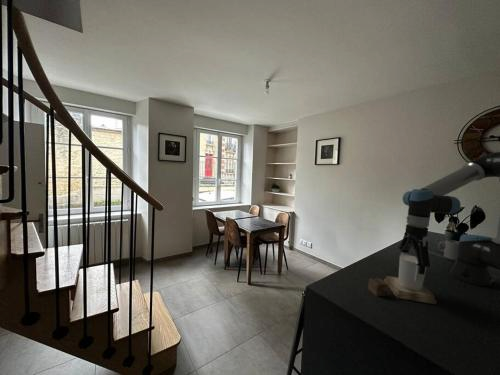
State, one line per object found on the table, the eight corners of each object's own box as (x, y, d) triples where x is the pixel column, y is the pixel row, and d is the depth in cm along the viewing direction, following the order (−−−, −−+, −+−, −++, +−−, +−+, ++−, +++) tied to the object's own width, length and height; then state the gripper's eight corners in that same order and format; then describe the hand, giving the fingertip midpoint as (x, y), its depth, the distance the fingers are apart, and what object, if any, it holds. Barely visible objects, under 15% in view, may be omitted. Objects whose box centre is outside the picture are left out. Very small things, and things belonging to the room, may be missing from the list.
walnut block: (378, 289, 97) (379, 278, 97) (386, 295, 92) (388, 284, 92) (367, 289, 96) (369, 278, 96) (375, 295, 91) (377, 284, 91)
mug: (461, 258, 143) (463, 242, 142) (461, 262, 137) (464, 245, 136) (437, 252, 151) (439, 237, 150) (436, 255, 145) (438, 239, 144)
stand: (417, 286, 102) (418, 280, 102) (435, 304, 88) (437, 297, 88) (384, 281, 105) (384, 275, 104) (397, 297, 91) (398, 290, 91)
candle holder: (416, 281, 100) (419, 256, 99) (428, 293, 90) (433, 265, 89) (392, 278, 102) (395, 253, 101) (402, 289, 92) (406, 261, 91)
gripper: (394, 218, 107) (389, 260, 109) (423, 232, 82) (415, 286, 84) (412, 220, 105) (406, 262, 107) (446, 235, 81) (438, 289, 83)
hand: (410, 273), depth 96 cm, fingers open, 13 cm apart
